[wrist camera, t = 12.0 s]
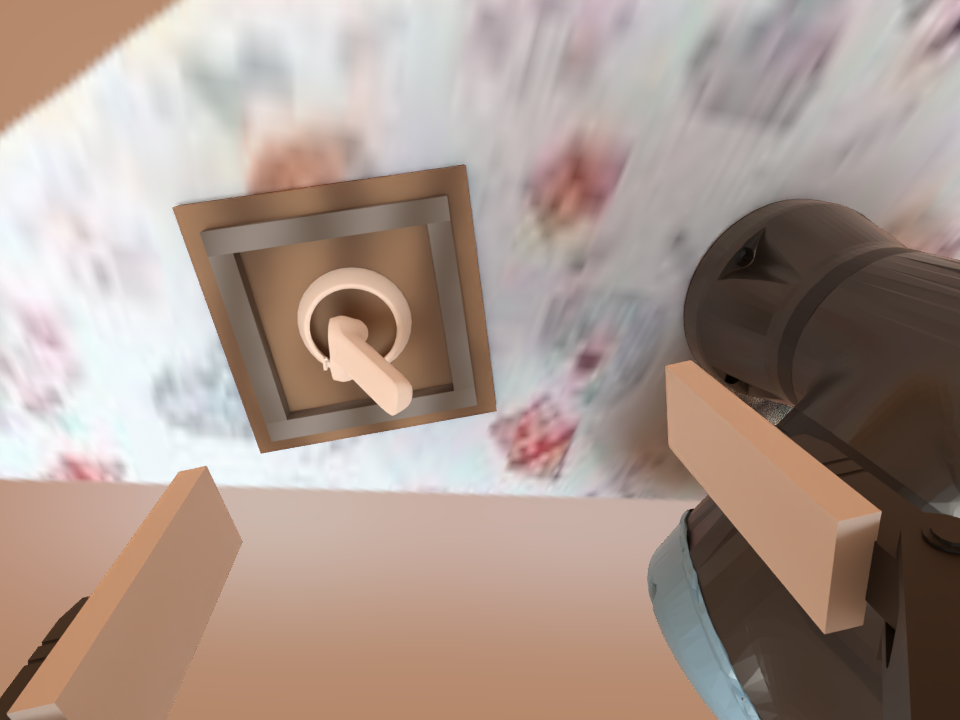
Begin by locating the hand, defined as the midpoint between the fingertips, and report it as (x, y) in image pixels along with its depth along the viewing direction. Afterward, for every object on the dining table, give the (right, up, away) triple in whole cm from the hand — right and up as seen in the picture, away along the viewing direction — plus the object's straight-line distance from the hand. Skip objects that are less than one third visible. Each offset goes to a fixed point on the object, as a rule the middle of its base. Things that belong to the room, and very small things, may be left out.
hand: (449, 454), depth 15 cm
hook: (-8, +5, +21) cm, 23 cm away
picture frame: (-8, +6, +22) cm, 24 cm away
